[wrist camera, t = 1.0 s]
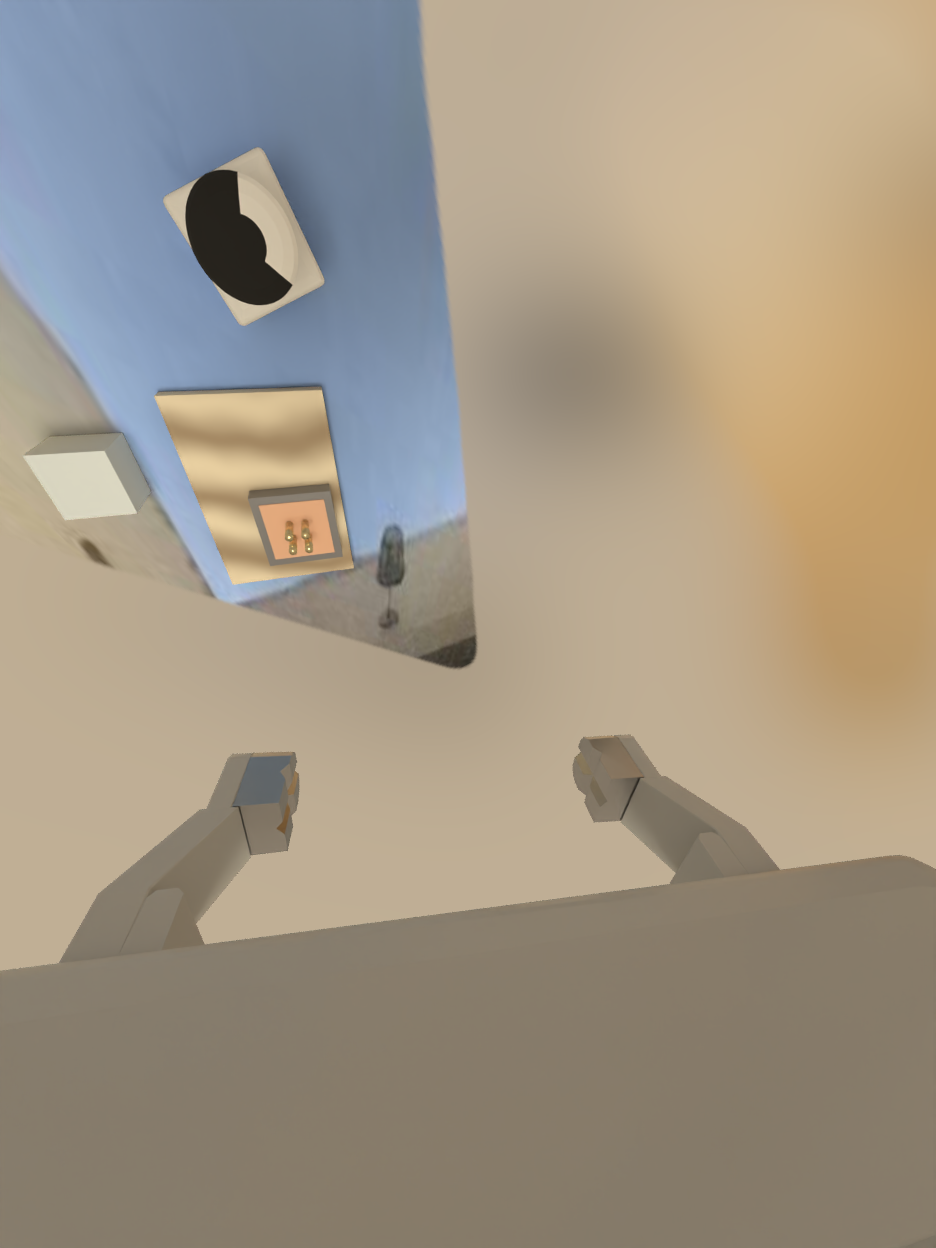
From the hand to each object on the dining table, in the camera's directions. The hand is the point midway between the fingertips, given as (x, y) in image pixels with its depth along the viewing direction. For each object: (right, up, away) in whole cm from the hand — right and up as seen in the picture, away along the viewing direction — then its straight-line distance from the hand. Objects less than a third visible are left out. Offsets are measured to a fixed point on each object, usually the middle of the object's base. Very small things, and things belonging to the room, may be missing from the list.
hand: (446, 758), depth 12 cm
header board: (-21, +18, +33) cm, 43 cm away
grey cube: (-34, +19, +27) cm, 48 cm away
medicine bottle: (-16, +34, +22) cm, 44 cm away
